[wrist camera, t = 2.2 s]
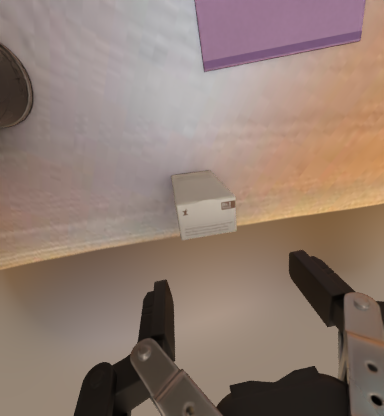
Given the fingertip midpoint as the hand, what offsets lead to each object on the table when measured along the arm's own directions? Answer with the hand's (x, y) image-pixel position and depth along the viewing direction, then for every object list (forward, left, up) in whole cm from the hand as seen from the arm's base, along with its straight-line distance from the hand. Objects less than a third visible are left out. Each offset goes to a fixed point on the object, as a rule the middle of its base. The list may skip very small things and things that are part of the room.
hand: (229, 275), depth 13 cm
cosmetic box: (0, 0, -20) cm, 20 cm away
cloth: (+14, +19, -20) cm, 31 cm away
